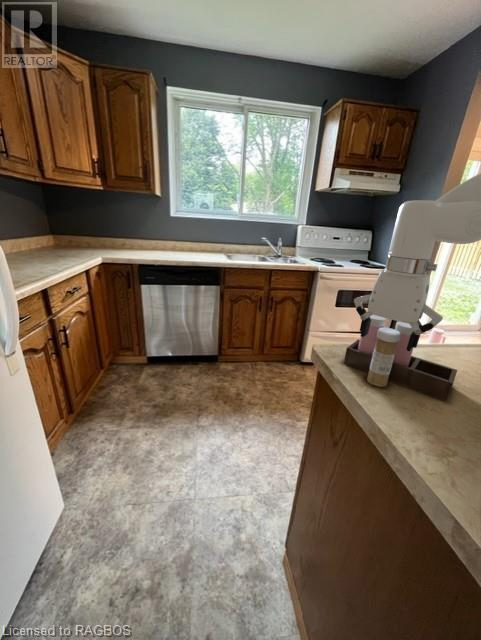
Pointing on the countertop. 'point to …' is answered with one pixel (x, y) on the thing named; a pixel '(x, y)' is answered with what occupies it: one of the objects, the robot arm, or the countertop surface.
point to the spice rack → (409, 372)
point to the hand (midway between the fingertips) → (385, 341)
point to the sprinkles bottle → (383, 356)
